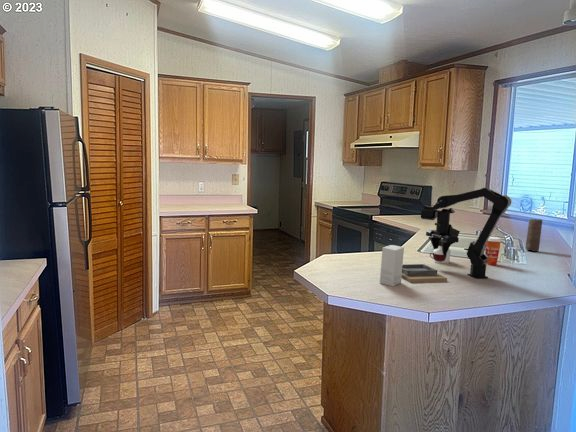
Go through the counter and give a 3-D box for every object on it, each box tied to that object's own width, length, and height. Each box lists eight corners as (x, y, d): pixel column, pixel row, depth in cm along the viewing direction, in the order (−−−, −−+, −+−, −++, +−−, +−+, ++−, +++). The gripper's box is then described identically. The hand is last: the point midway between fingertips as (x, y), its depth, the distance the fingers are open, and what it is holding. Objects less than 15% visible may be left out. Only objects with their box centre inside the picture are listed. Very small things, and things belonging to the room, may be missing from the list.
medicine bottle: (449, 263, 224) (451, 241, 223) (434, 262, 226) (436, 239, 224) (447, 260, 231) (449, 238, 230) (433, 259, 233) (435, 237, 231)
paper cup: (482, 264, 226) (484, 237, 225) (483, 261, 233) (485, 235, 231) (498, 266, 223) (501, 239, 221) (499, 263, 230) (502, 237, 228)
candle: (539, 253, 264) (543, 220, 261) (525, 251, 267) (529, 219, 264) (538, 251, 271) (541, 219, 268) (524, 249, 274) (528, 218, 271)
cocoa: (428, 261, 211) (429, 236, 209) (432, 258, 216) (433, 234, 214) (448, 263, 206) (449, 238, 204) (452, 260, 211) (453, 236, 209)
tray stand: (447, 281, 190) (447, 273, 190) (409, 282, 186) (410, 274, 185) (420, 268, 211) (420, 261, 211) (386, 269, 207) (386, 262, 206)
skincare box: (388, 279, 189) (390, 244, 187) (402, 283, 185) (405, 246, 183) (378, 283, 182) (381, 246, 180) (393, 286, 178) (396, 249, 176)
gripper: (470, 224, 202) (467, 257, 204) (446, 218, 219) (443, 249, 221) (449, 224, 199) (446, 258, 201) (426, 218, 217) (424, 249, 219)
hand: (440, 253), depth 211 cm, fingers closed on cocoa, 7 cm apart
